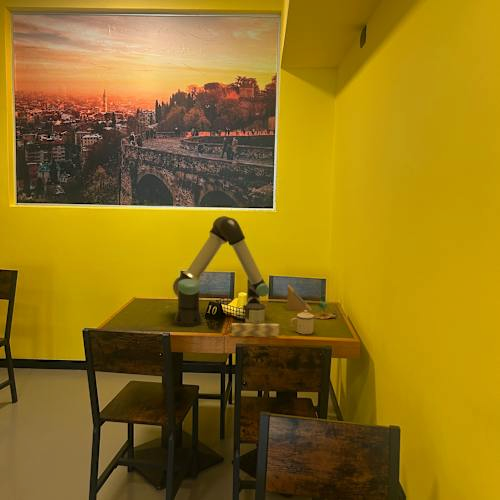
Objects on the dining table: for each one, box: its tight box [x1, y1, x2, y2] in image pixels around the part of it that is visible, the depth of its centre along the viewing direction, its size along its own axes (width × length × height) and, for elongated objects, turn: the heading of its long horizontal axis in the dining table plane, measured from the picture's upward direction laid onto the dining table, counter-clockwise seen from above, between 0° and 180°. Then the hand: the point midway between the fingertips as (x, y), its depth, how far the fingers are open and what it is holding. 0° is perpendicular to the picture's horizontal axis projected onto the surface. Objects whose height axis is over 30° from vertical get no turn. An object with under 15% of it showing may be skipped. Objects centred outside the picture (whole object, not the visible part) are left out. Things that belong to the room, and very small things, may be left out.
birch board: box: [231, 322, 280, 338], centre depth 239 cm, size 24×3×6 cm, turn 91°
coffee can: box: [244, 303, 266, 324], centre depth 244 cm, size 10×10×14 cm
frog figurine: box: [313, 294, 340, 320], centre depth 275 cm, size 10×18×15 cm, turn 77°
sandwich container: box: [286, 284, 312, 312], centre depth 293 cm, size 9×15×15 cm, turn 84°
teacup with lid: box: [290, 310, 315, 335], centre depth 246 cm, size 12×9×12 cm
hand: (255, 315), depth 250 cm, fingers closed
